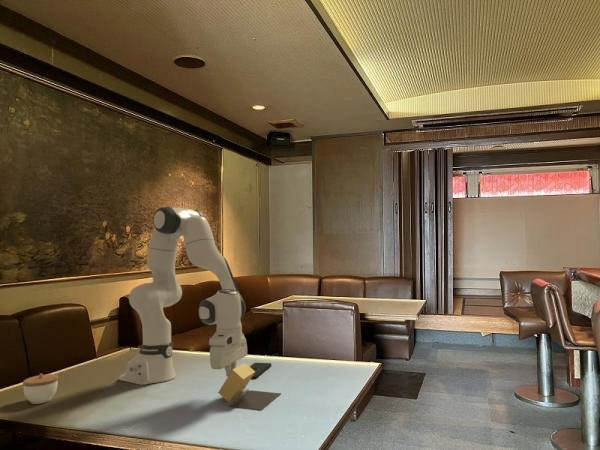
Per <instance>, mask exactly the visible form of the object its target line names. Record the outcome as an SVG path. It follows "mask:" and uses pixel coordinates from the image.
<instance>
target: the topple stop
mask: <svg viewBox="0 0 600 450" xmlns="http://www.w3.org/2000/svg"><path fill="white" fill-rule="evenodd" d="M281 395H282V393H280V392H279V393H278V392H273V391H272V392H270V391H261V390H260V391H259V390H250V389H249V388H245V389H244V390H243V392H241V393H240V394H238V395H237V396H235V397H234V398H232V399H231V400H229V401H226V406H228V407H231V408H236V409H245V410H246V409H247V410H252V411H253V410H255V411H263V410H264V409H265V408H266V407H268V406H269V405H270V404H271V403H273V402H274V401H275V400H276V399H277V398H278V397H279V396H281Z"/></svg>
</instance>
